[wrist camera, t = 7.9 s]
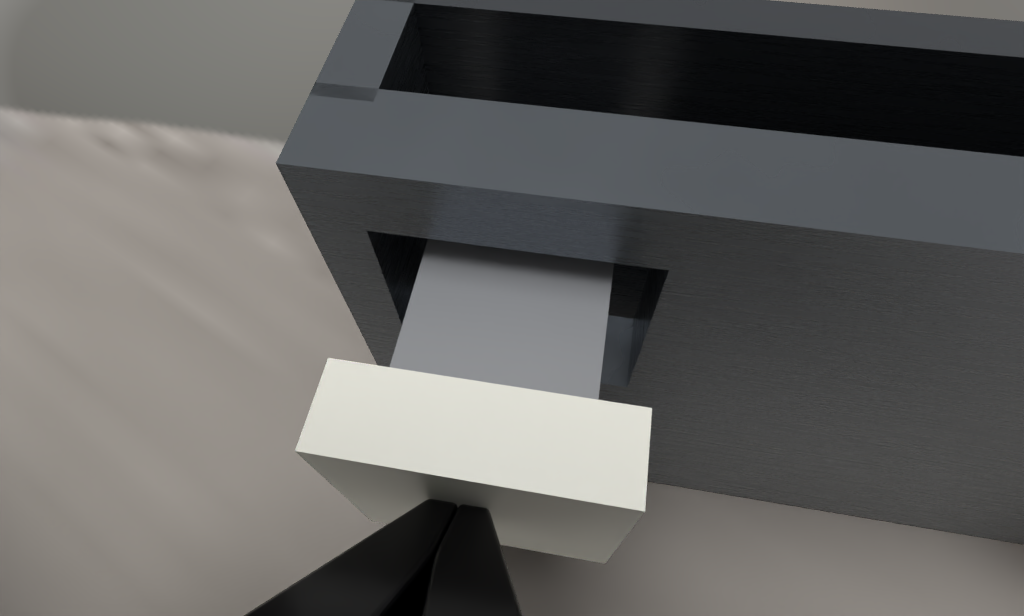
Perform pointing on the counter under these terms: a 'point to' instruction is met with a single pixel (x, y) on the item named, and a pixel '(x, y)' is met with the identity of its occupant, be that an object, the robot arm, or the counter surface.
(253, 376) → the counter surface
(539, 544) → the ivory button
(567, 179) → the button panel
